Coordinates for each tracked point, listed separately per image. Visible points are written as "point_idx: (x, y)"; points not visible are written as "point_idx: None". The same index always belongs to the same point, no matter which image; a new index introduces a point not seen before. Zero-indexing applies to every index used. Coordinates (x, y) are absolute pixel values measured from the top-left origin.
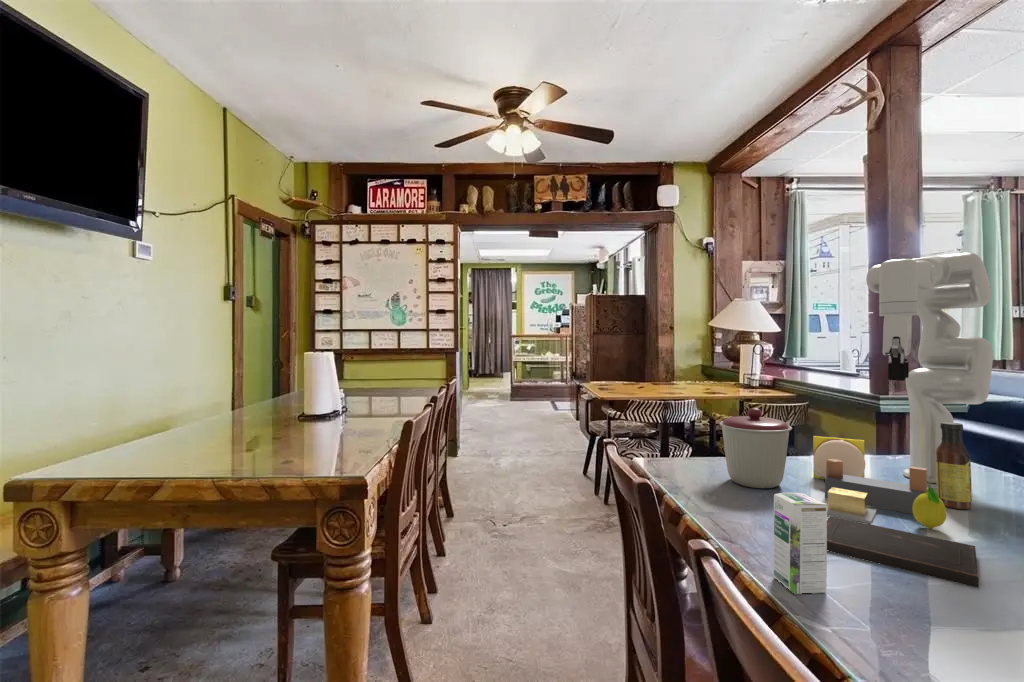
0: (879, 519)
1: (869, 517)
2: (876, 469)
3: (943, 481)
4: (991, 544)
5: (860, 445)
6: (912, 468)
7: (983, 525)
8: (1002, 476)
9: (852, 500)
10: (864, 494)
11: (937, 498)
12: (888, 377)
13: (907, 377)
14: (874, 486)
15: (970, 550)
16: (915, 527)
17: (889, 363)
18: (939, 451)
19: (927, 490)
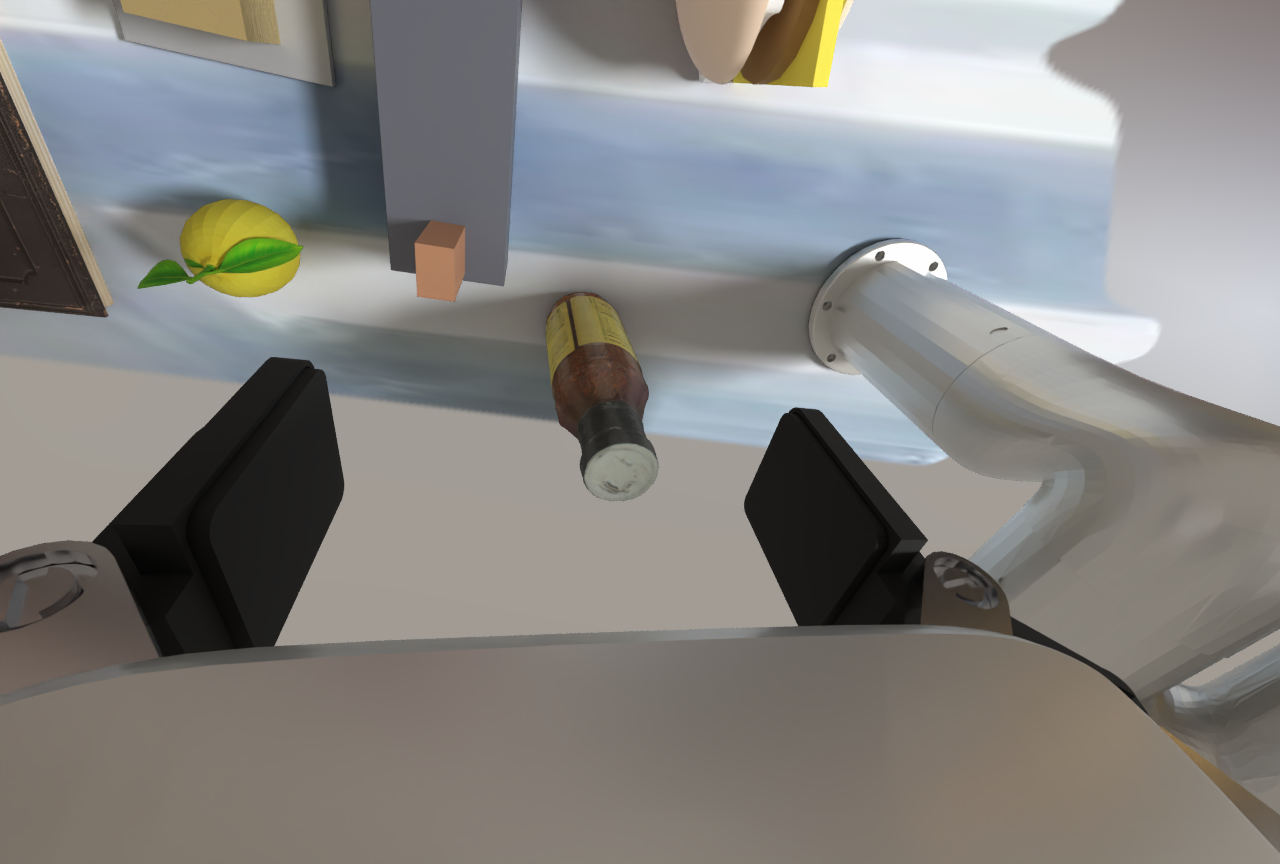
0: (236, 84)
1: (178, 40)
2: (967, 156)
3: (557, 330)
4: (267, 352)
5: (804, 64)
6: (415, 253)
7: (434, 359)
8: (928, 448)
9: None
10: (206, 21)
11: (141, 284)
12: (258, 371)
13: (749, 504)
14: (377, 86)
15: (39, 301)
16: (249, 196)
17: (47, 550)
18: (580, 370)
19: (241, 267)
